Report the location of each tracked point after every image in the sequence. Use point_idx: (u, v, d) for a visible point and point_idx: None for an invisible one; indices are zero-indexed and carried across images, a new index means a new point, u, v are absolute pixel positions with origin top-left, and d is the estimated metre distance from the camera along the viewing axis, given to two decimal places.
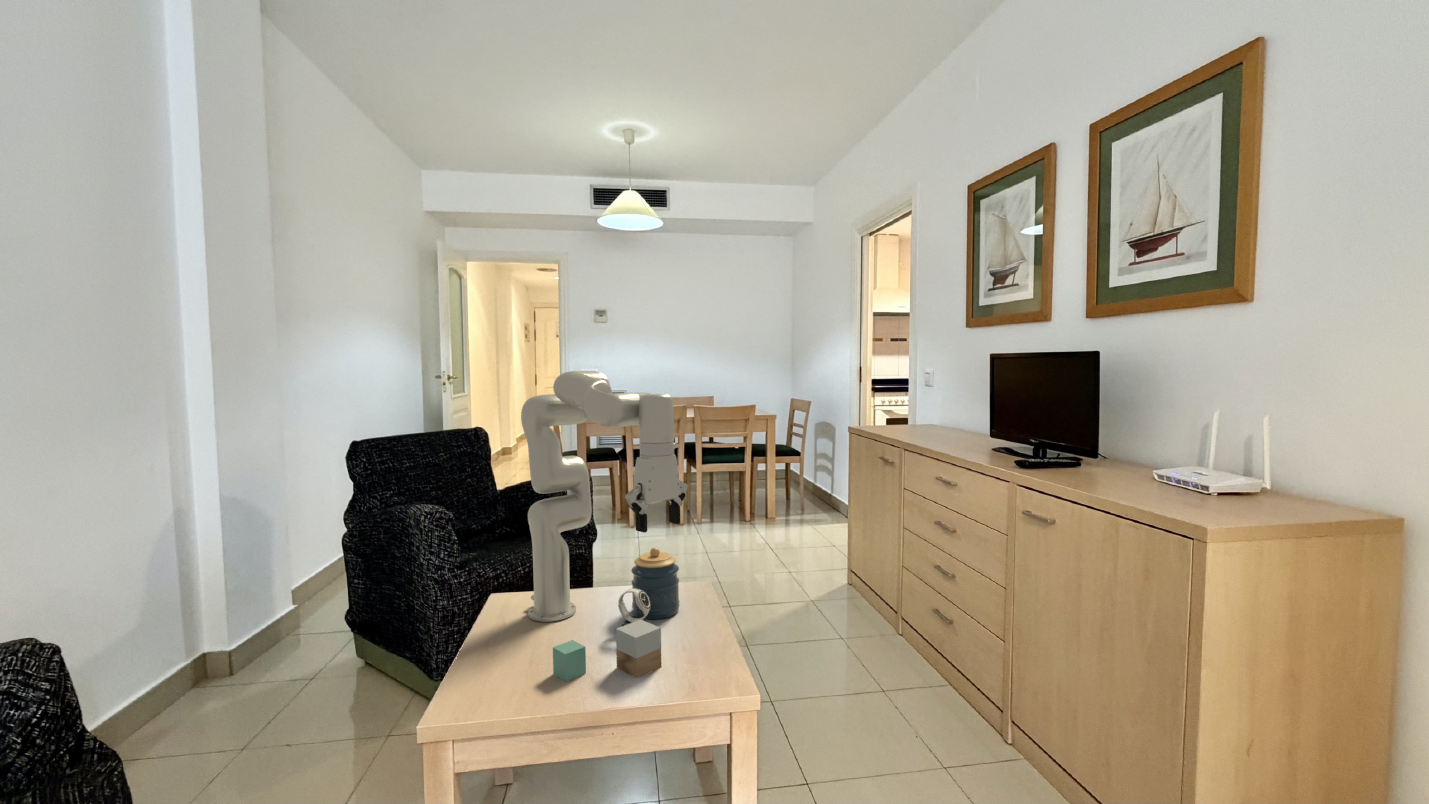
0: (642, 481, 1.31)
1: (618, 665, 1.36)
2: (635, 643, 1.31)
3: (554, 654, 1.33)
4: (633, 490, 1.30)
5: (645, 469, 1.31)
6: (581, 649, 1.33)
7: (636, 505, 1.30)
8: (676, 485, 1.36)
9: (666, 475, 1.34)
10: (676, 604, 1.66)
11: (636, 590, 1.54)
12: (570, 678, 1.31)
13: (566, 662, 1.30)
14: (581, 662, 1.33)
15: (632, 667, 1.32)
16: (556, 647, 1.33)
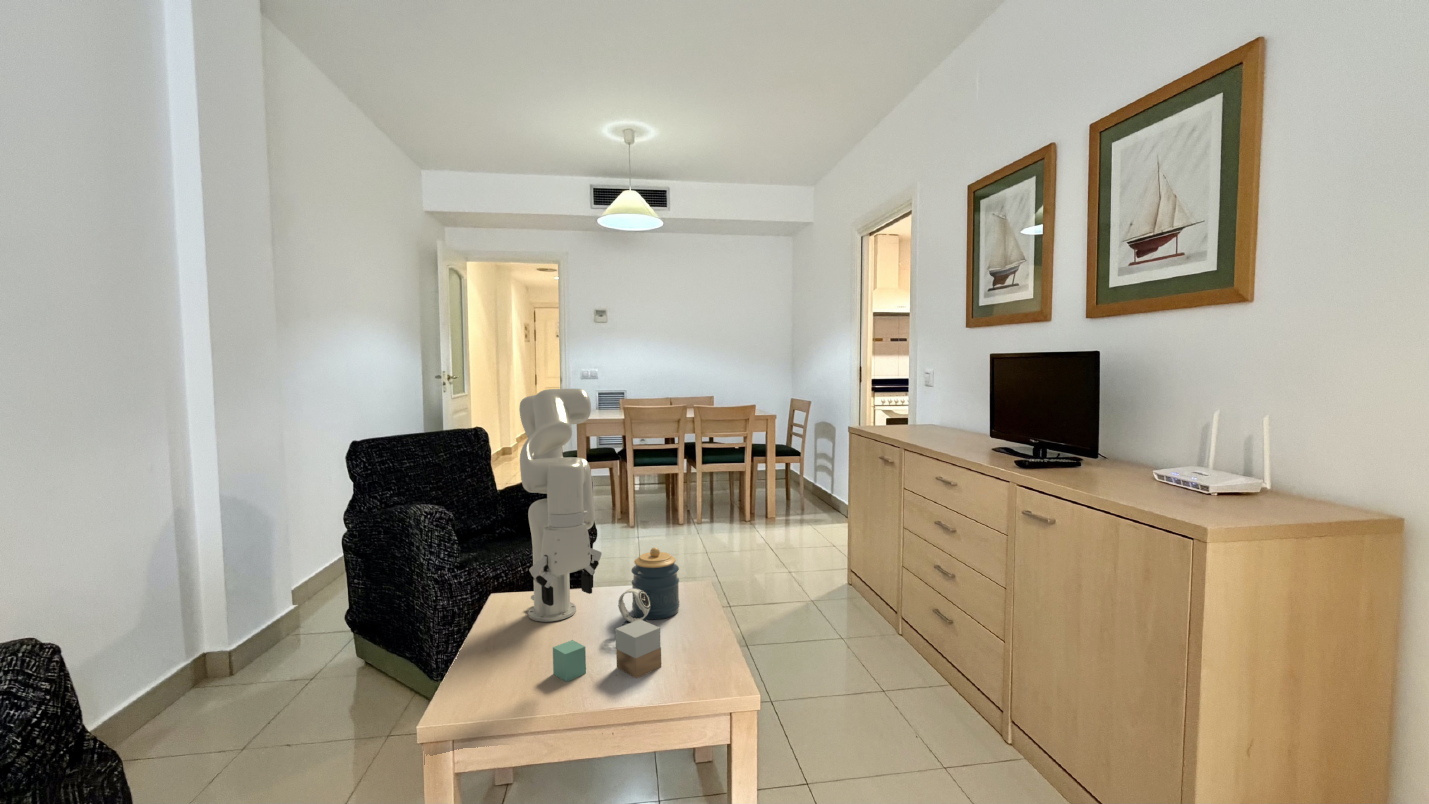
0: (548, 553, 1.28)
1: (618, 665, 1.36)
2: (634, 643, 1.31)
3: (554, 654, 1.33)
4: (538, 563, 1.27)
5: (551, 541, 1.28)
6: (581, 649, 1.33)
7: (541, 578, 1.27)
8: (586, 555, 1.34)
9: (574, 546, 1.31)
10: (676, 604, 1.66)
11: (636, 590, 1.54)
12: (570, 678, 1.31)
13: (566, 662, 1.30)
14: (581, 662, 1.33)
15: (632, 666, 1.32)
16: (556, 647, 1.33)
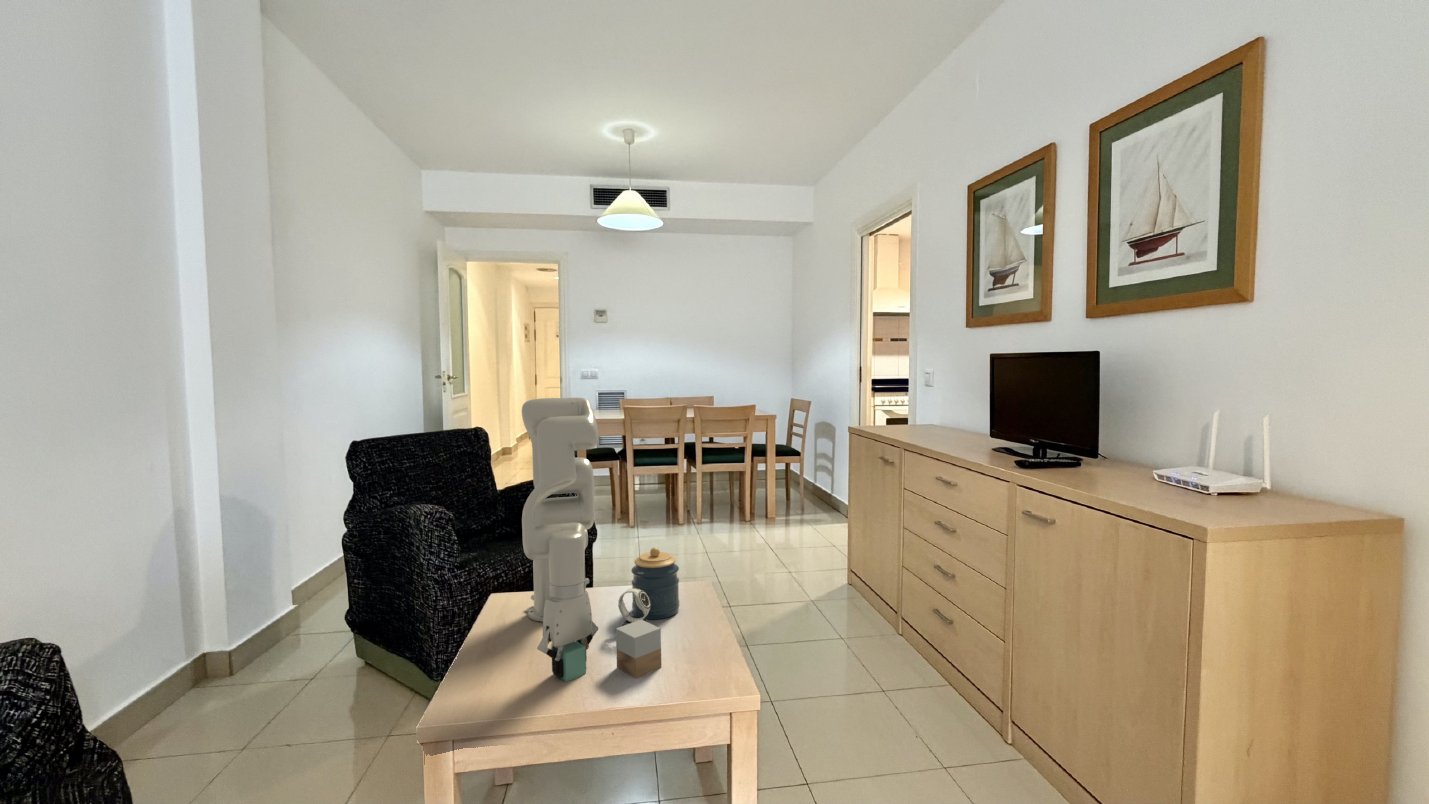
0: (550, 625, 1.29)
1: (618, 665, 1.36)
2: (633, 644, 1.31)
3: None
4: (543, 640, 1.29)
5: (553, 613, 1.29)
6: (581, 649, 1.33)
7: (551, 652, 1.29)
8: (588, 623, 1.34)
9: (576, 616, 1.32)
10: (676, 604, 1.66)
11: (636, 590, 1.54)
12: (570, 678, 1.31)
13: (566, 662, 1.30)
14: (581, 662, 1.33)
15: (632, 667, 1.32)
16: None
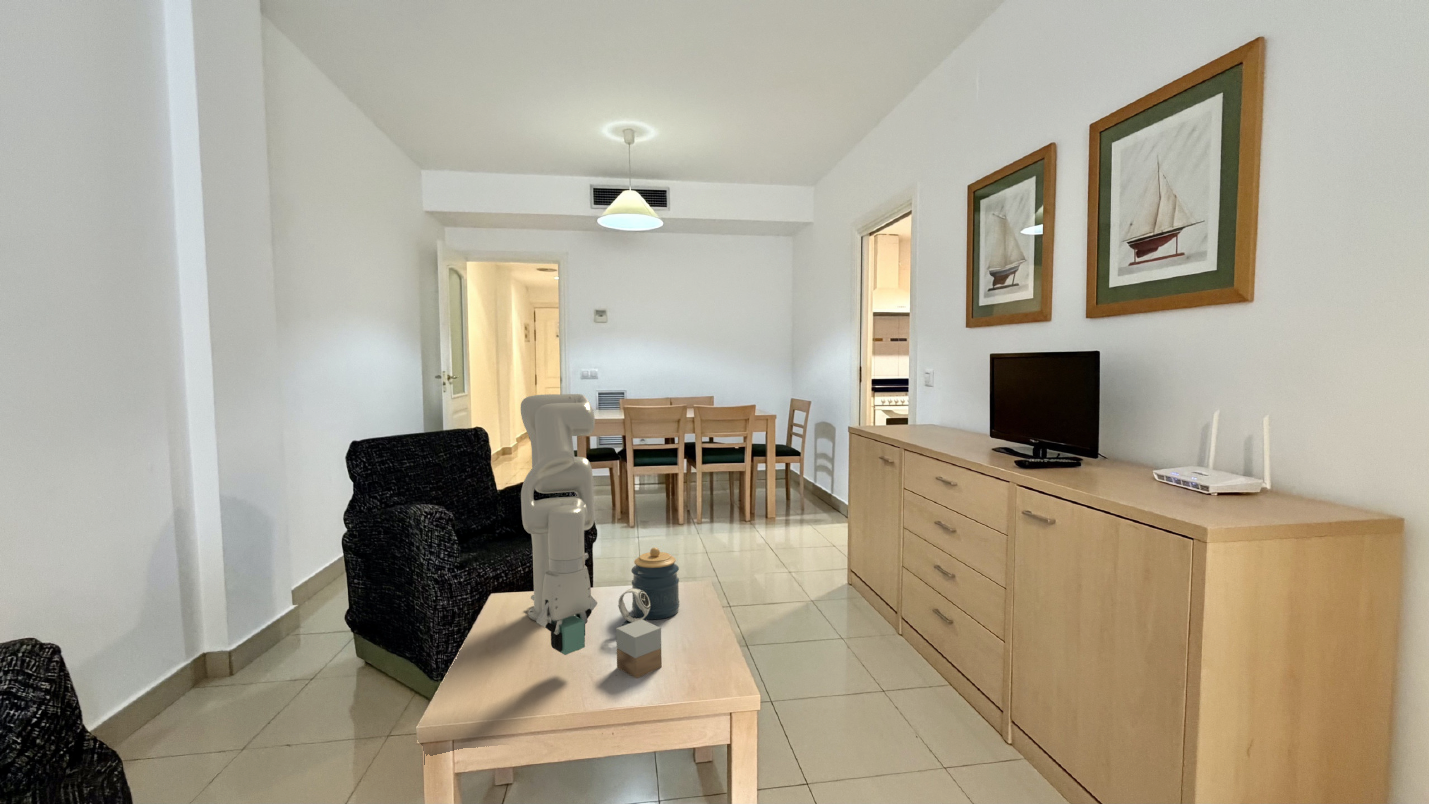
0: (549, 598, 1.29)
1: (618, 665, 1.36)
2: (634, 643, 1.31)
3: None
4: (542, 613, 1.29)
5: (552, 587, 1.29)
6: (580, 623, 1.33)
7: (550, 626, 1.30)
8: (587, 598, 1.35)
9: (575, 590, 1.32)
10: (676, 604, 1.66)
11: (636, 590, 1.54)
12: (569, 651, 1.32)
13: (565, 635, 1.31)
14: (580, 636, 1.33)
15: (632, 667, 1.32)
16: None
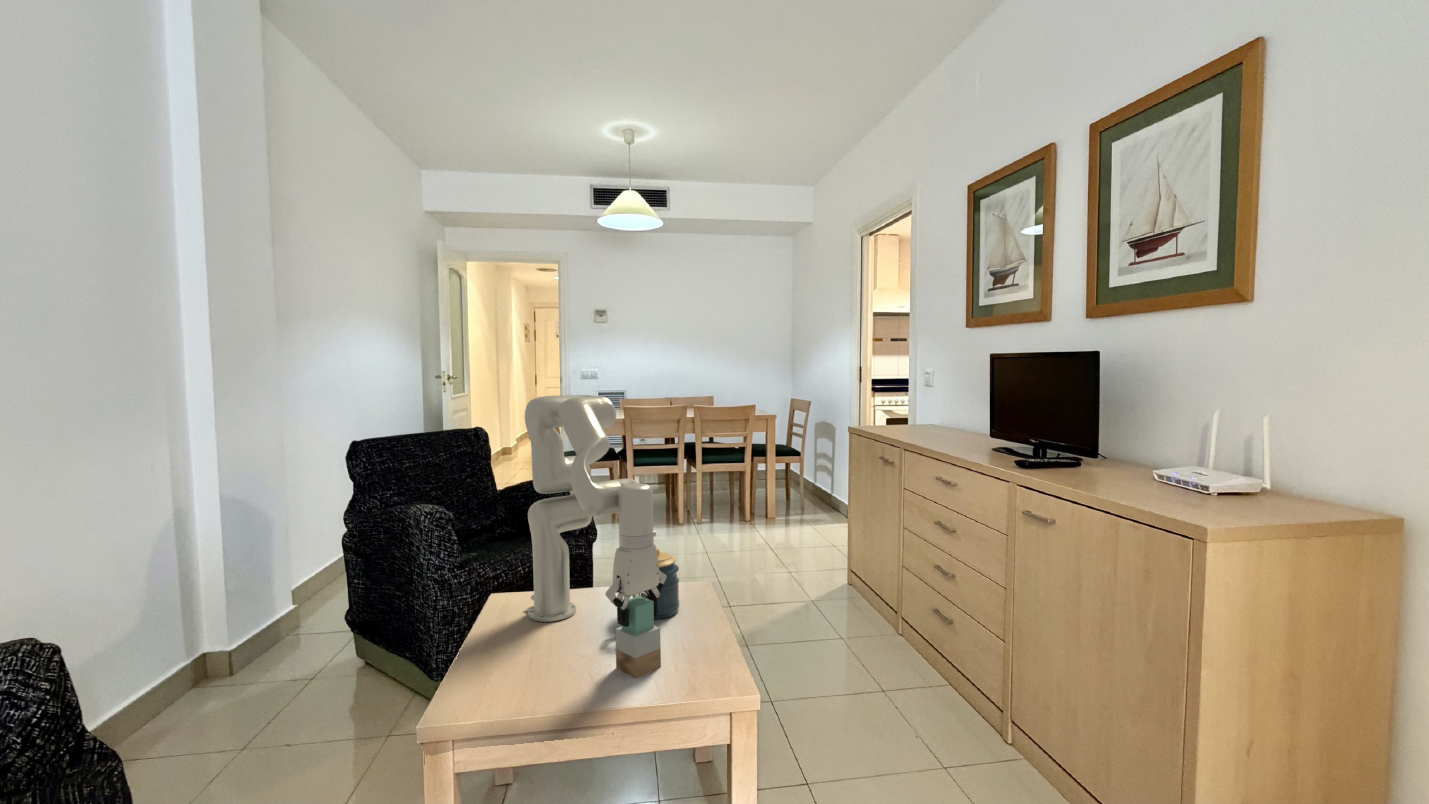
0: (621, 574, 1.31)
1: (617, 665, 1.36)
2: (633, 643, 1.31)
3: None
4: (613, 586, 1.30)
5: (624, 562, 1.31)
6: (650, 603, 1.35)
7: (618, 601, 1.31)
8: (656, 575, 1.36)
9: (645, 566, 1.34)
10: (676, 604, 1.66)
11: None
12: (640, 631, 1.33)
13: (636, 615, 1.32)
14: (649, 616, 1.35)
15: (631, 667, 1.32)
16: None
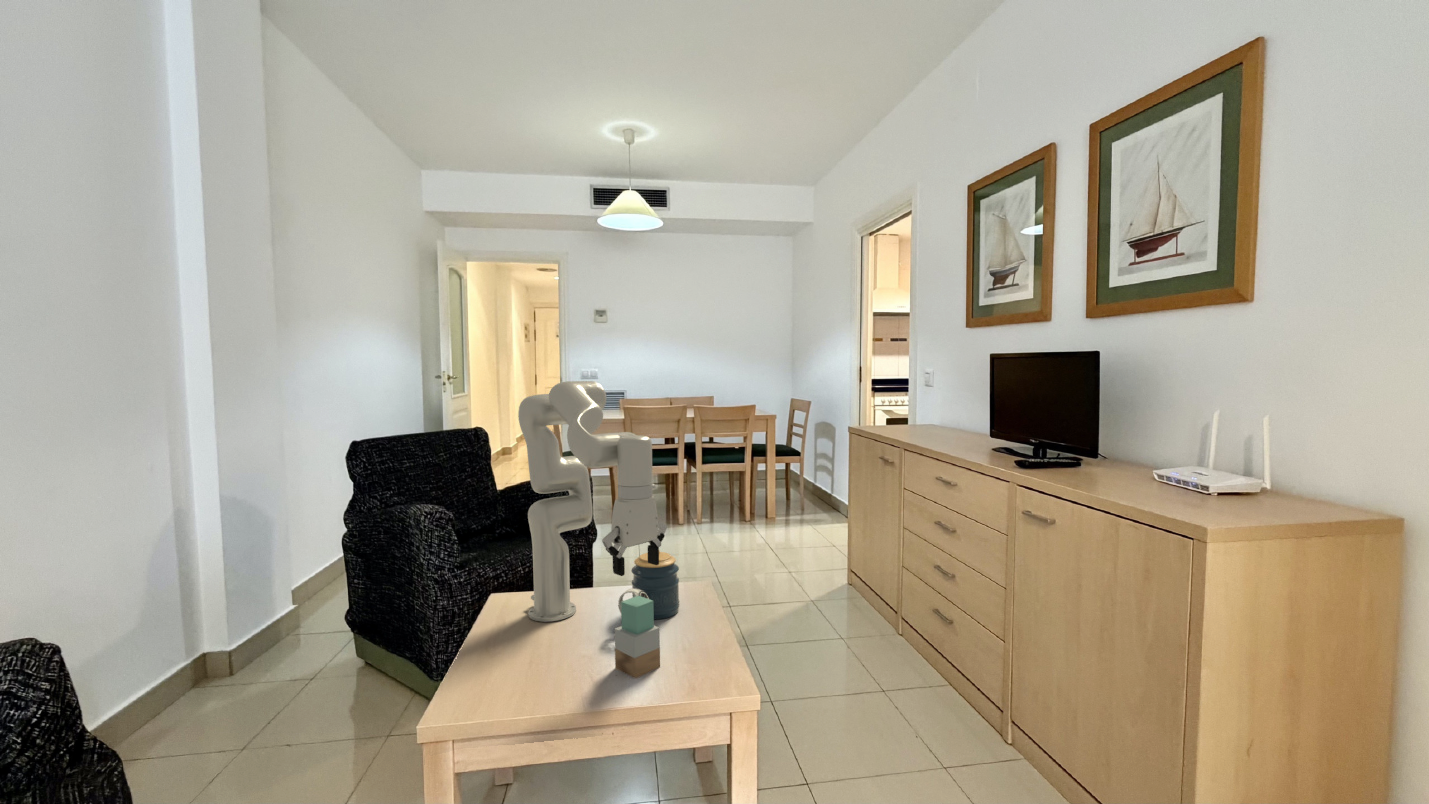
0: (619, 524, 1.31)
1: (617, 665, 1.35)
2: (633, 643, 1.31)
3: (623, 608, 1.35)
4: (610, 534, 1.30)
5: (623, 513, 1.31)
6: (650, 603, 1.35)
7: (613, 549, 1.30)
8: (654, 527, 1.36)
9: (644, 518, 1.33)
10: (676, 604, 1.66)
11: (636, 590, 1.54)
12: (640, 631, 1.33)
13: (637, 615, 1.32)
14: (650, 616, 1.35)
15: (631, 667, 1.32)
16: (625, 601, 1.35)
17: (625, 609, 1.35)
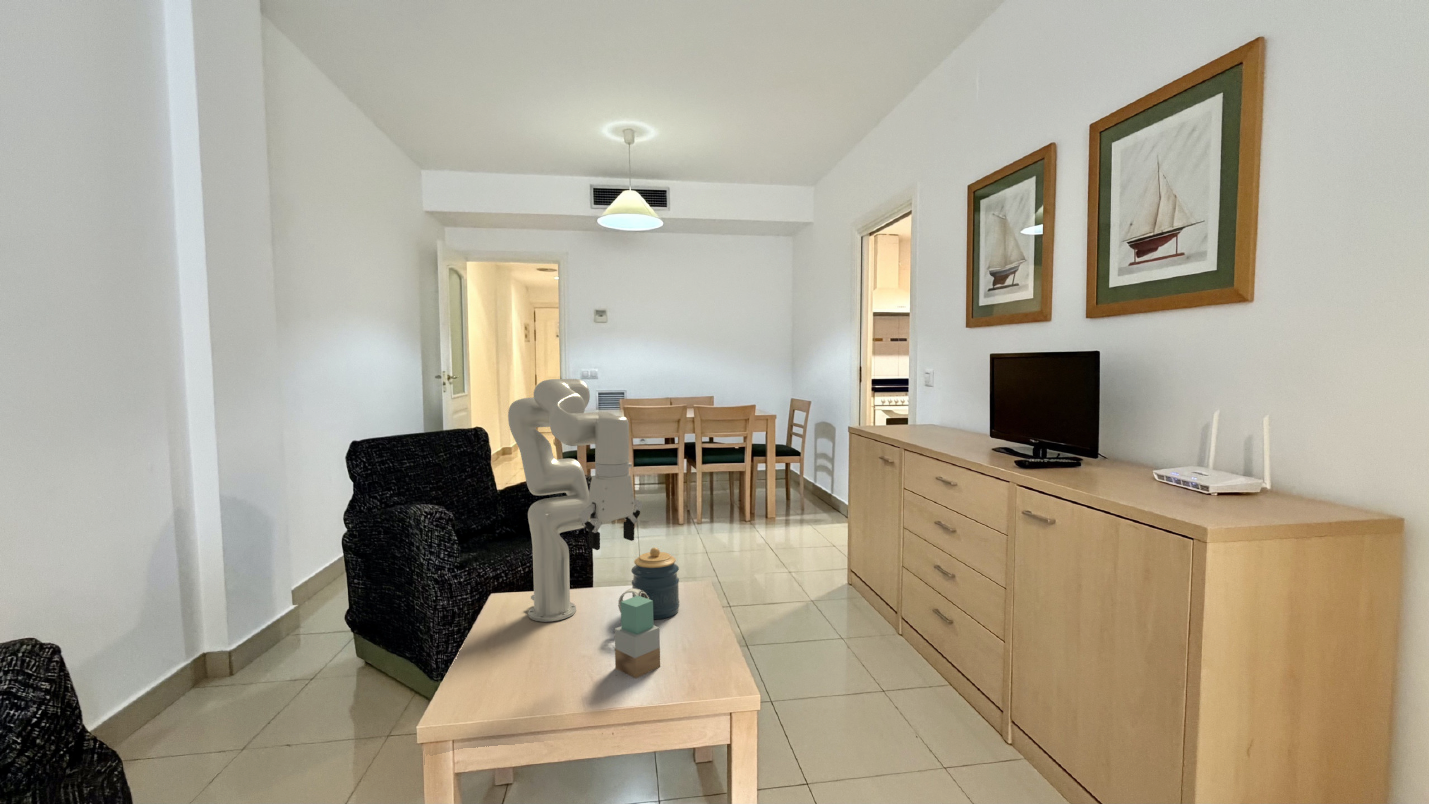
0: (596, 501, 1.36)
1: (617, 665, 1.36)
2: (633, 643, 1.31)
3: (622, 608, 1.35)
4: (587, 509, 1.35)
5: (599, 489, 1.35)
6: (649, 603, 1.35)
7: (589, 524, 1.35)
8: (630, 504, 1.41)
9: (620, 495, 1.38)
10: (676, 604, 1.66)
11: (636, 590, 1.54)
12: (640, 631, 1.33)
13: (637, 615, 1.32)
14: (649, 616, 1.35)
15: (631, 667, 1.32)
16: (624, 602, 1.35)
17: (625, 609, 1.35)
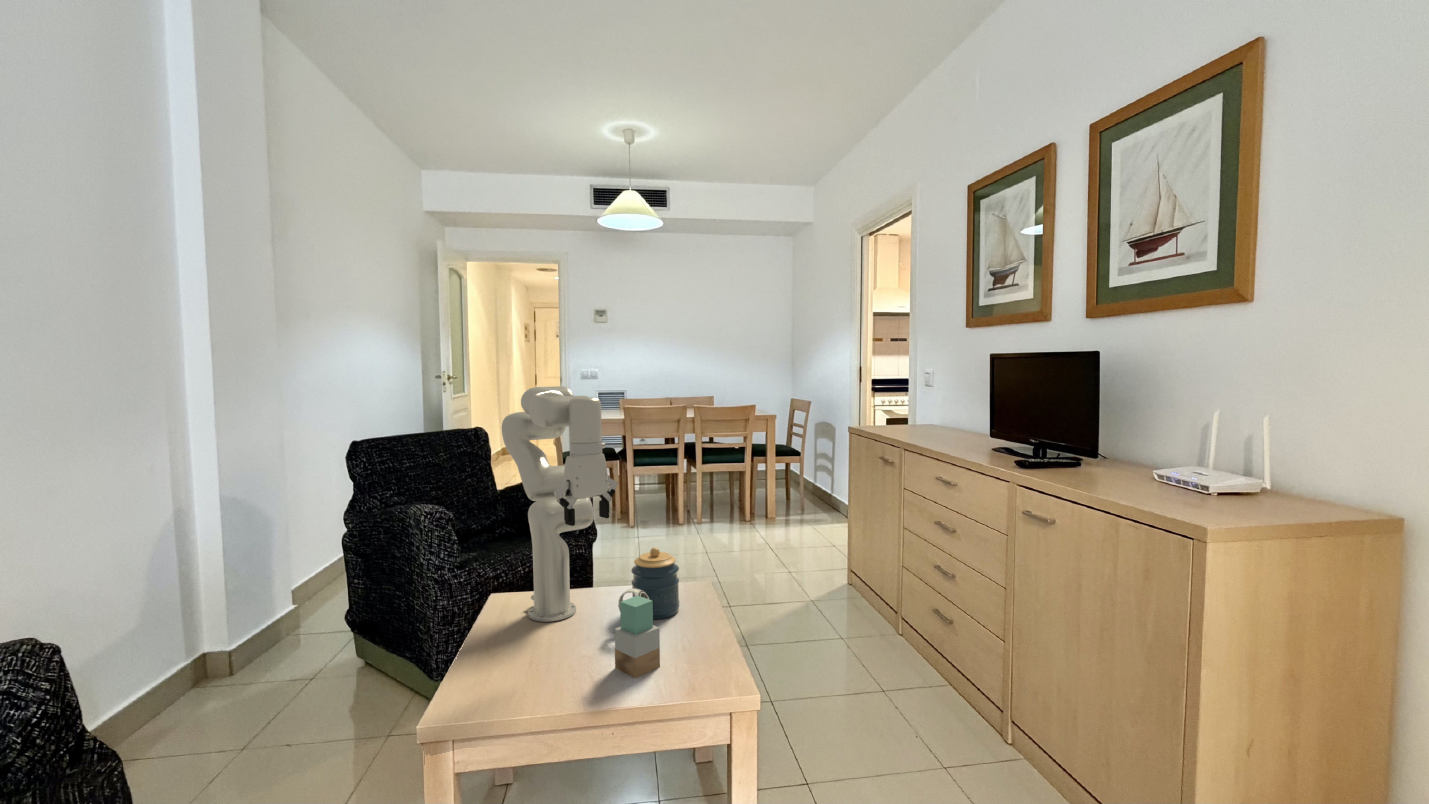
0: (570, 478, 1.41)
1: (616, 665, 1.35)
2: (633, 643, 1.31)
3: (622, 608, 1.35)
4: (561, 486, 1.40)
5: (573, 467, 1.41)
6: (649, 603, 1.35)
7: (564, 500, 1.40)
8: (604, 482, 1.47)
9: (594, 473, 1.44)
10: (676, 604, 1.66)
11: (636, 590, 1.54)
12: (639, 631, 1.33)
13: (636, 615, 1.32)
14: (649, 616, 1.35)
15: (631, 667, 1.32)
16: (624, 601, 1.35)
17: (624, 609, 1.35)
